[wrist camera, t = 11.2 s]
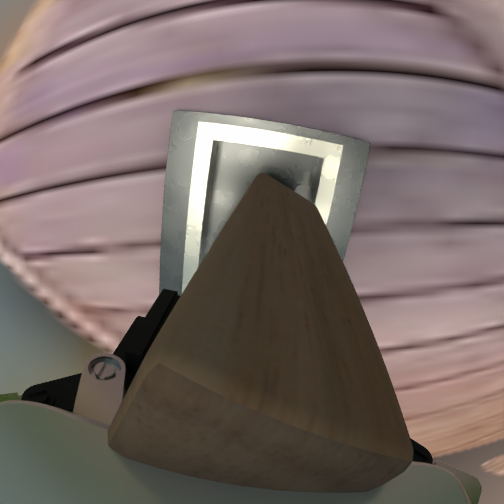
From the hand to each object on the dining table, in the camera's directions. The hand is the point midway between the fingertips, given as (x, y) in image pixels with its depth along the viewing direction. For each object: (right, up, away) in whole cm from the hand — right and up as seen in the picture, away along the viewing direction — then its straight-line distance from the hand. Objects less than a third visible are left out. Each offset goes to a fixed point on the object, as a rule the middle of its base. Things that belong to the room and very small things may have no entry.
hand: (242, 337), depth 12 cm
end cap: (+1, +6, +15) cm, 16 cm away
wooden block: (+1, +4, +10) cm, 11 cm away
